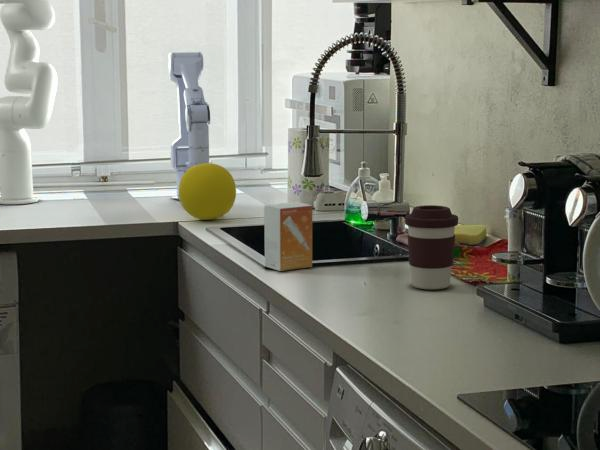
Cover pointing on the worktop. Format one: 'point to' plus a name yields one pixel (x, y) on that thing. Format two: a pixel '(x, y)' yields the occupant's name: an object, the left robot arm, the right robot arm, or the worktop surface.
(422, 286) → the coffee cup
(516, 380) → the worktop surface
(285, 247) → the small box
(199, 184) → the toy
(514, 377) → the worktop surface
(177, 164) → the right robot arm
